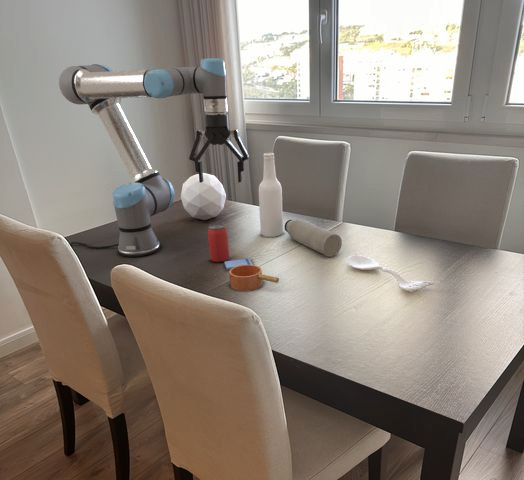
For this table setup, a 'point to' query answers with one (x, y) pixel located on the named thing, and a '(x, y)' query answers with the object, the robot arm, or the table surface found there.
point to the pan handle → (268, 278)
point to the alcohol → (270, 200)
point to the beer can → (218, 243)
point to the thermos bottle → (314, 237)
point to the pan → (245, 277)
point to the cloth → (237, 263)
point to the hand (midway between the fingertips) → (220, 181)
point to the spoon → (370, 264)
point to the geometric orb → (203, 196)
